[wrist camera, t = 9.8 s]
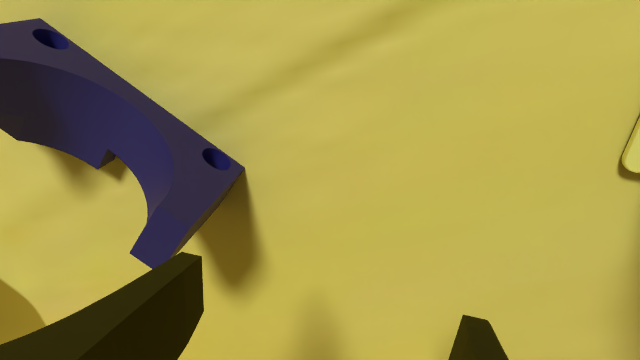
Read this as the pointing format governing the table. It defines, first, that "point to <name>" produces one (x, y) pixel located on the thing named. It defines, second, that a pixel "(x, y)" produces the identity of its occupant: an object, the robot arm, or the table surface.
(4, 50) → the cable clip
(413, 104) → the table surface
